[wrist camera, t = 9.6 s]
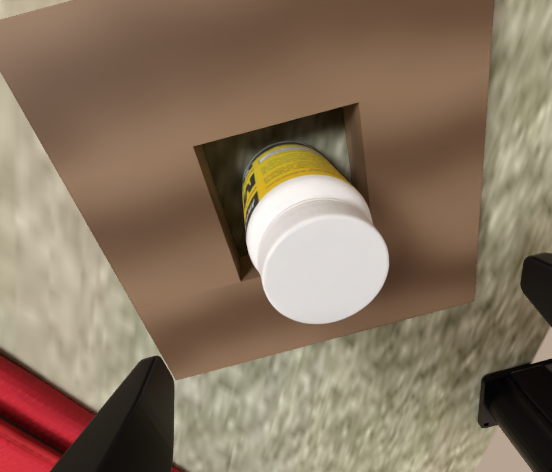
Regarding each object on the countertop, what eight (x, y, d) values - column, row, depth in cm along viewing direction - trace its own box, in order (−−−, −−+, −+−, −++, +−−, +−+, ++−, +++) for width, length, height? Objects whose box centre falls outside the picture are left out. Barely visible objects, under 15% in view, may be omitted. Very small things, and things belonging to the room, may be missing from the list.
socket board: (449, 277, 22) (474, 301, 19) (181, 348, 22) (175, 380, 19) (456, -85, 13) (501, -116, 11) (17, 33, 13) (-26, 26, 11)
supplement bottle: (231, 149, 16) (232, 219, 9) (325, 130, 16) (404, 183, 9) (251, 234, 18) (265, 347, 11) (334, 217, 19) (403, 317, 11)
